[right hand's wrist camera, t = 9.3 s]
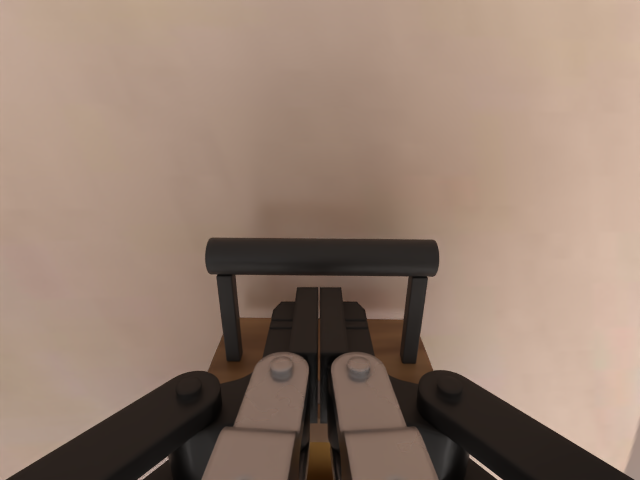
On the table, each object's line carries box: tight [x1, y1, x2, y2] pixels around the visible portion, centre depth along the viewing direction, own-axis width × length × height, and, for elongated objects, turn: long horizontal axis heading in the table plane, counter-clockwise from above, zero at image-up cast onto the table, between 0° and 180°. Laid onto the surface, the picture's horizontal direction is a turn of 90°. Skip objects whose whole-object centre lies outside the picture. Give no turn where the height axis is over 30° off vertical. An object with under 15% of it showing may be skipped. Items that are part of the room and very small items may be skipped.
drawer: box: [205, 238, 439, 480], centre depth 17 cm, size 22×9×6 cm, turn 0°
